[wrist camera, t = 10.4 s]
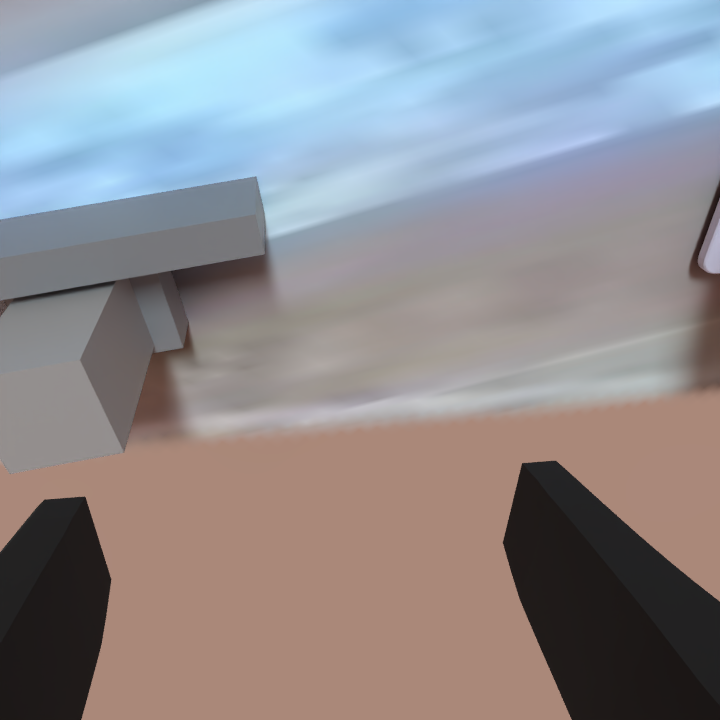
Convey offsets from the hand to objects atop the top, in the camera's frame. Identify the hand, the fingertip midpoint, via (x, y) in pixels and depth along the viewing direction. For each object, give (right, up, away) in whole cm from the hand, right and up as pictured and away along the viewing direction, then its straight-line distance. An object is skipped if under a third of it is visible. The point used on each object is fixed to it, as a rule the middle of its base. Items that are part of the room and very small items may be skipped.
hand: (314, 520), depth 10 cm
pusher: (-7, +5, +7) cm, 11 cm away
